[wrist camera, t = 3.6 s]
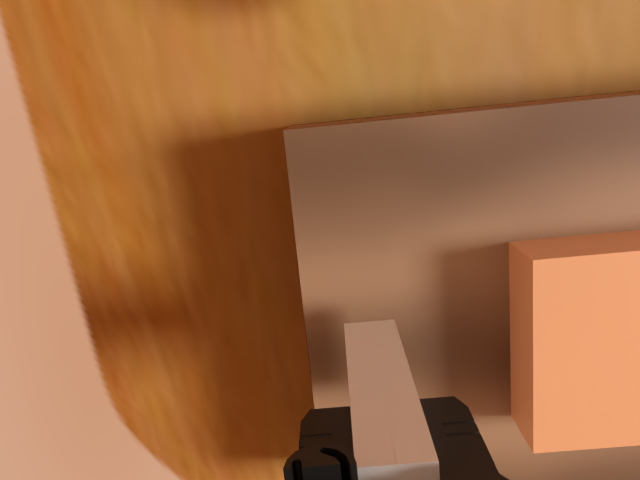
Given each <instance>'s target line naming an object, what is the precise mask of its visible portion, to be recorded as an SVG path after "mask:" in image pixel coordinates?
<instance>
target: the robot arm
mask: <svg viewBox="0 0 640 480" xmlns="http://www.w3.org/2000/svg"><path fill="white" fill-rule="evenodd" d="M344 331H345V344H346V357H347V371H348V384H349V397H350V406H344V407H332V408H320V409H310V410H309V412H308V413H307V415H306V416H305V417H304V419H303V420H302V421H301V428H300V440H299V450H298V451H296V452H294V453H293V454H292V455H291V456H290V457H289V458H288V459H287V461H286V463H285V466H284V468H283V471H284V478H285V480H509V479H507V478H506V477H504V476H502V475H501V474H499V472H498V470H497V468H496V466H495V463H494V461H493V459H492V457H491V455H490V453H489V451H488V448H487V446H486V444H485V442H484V440H483V438H482V436H481V434H480V431H479V429H478V427H477V425H476V423H475V421H474V418H473V416H472V414H471V412H470V410H469V408H468V406H466V405H465V404H464V403H462V402H461V401H460V400H459V399H457V398H456V397H455V396H449V397H437V398H425V399H419V396H418V393H417V390H416V387H415V384H414V380H413V377H412V374H411V371H410V368H409V365H408V361H407V358H406V355H405V352H404V349H403V345H402V342H401V339H400V336H399V333H398V329H397V326H396V323H395V320H394V319H391V320H380V321H368V322H357V323H345V324H344Z"/></svg>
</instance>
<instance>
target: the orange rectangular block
mask: <svg viewBox="0 0 640 480" xmlns="http://www.w3.org/2000/svg"><path fill="white" fill-rule="evenodd" d="M509 294H510V366H511V416H512V418H513V420H514V421H515V423H516V425H517V426H518V428H519V430H520V432H521V433H522V435H523V437H524V438H525V440H526V442H527V443H528V445H529V447H530V448H531V450H532V452H533V453H547V452H560V451H573V450H586V449H599V448H612V447H625V446H638V445H640V230H635V231H624V232H613V233H602V234H591V235H580V236H569V237H558V238H547V239H536V240H525V241H514V242H509Z"/></svg>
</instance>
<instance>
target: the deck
mask: <svg viewBox="0 0 640 480" xmlns="http://www.w3.org/2000/svg"><path fill="white" fill-rule="evenodd" d="M283 135H284V143H285V152H286V161H287V170H288V179H289V188H290V197H291V206H292V214H293V223H294V232H295V241H296V250H297V259H298V268H299V276H300V285H301V294H302V303H303V312H304V321H305V330H306V338H307V347H308V356H309V365H310V374H311V383H312V392H313V400H314V409H320V408H332V407H344V406H350V397H349V384H348V371H347V357H346V344H345V331H344V324H345V323H357V322H368V321H380V320H391V319H394V320H395V323H396V326H397V329H398V333H399V336H400V339H401V342H402V345H403V349H404V352H405V355H406V358H407V361H408V365H409V368H410V371H411V374H412V377H413V380H414V384H415V387H416V390H417V393H418V396H419V399H425V398H437V397H449V396H455V397H456V398H457V399H459V400H460V401H461V402H462V403H464V404H465V405H466V406H468V408H469V410H470V412H471V414H472V416H473V418H474V421H475V423H476V425H477V427H478V429H479V431H480V434H481V436H482V438H483V440H484V442H485V444H486V446H487V448H488V451H489V453H490V455H491V457H492V459H493V461H494V463H495V466H496V468H497V470H498V472H499V474H501V475H502V476H504V477H506V478H507V479H509V480H640V445H638V446H625V447H612V448H599V449H586V450H573V451H560V452H547V453H533V452H532V450H531V448H530V447H529V445H528V443H527V442H526V440H525V438H524V437H523V435H522V433H521V432H520V430H519V428H518V426H517V425H516V423H515V421H514V420H513V418H512V416H511V366H510V294H509V242H514V241H525V240H536V239H547V238H558V237H569V236H580V235H591V234H602V233H613V232H624V231H635V230H640V90H639V91H629V92H619V93H609V94H599V95H589V96H579V97H569V98H559V99H549V100H539V101H529V102H519V103H509V104H499V105H489V106H479V107H469V108H459V109H449V110H439V111H430V112H420V113H410V114H400V115H390V116H380V117H370V118H360V119H350V120H340V121H330V122H320V123H310V124H300V125H291V126H290V127H288V128H286V129H285V130H283Z"/></svg>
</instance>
